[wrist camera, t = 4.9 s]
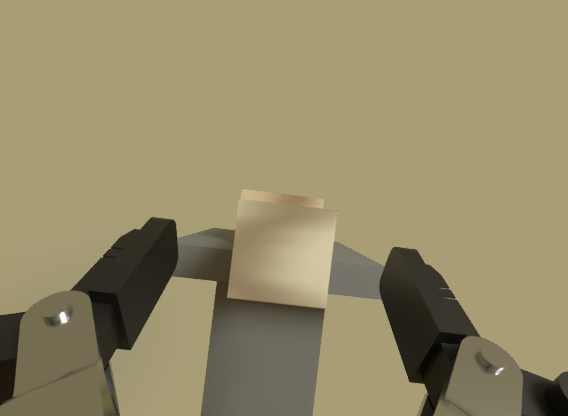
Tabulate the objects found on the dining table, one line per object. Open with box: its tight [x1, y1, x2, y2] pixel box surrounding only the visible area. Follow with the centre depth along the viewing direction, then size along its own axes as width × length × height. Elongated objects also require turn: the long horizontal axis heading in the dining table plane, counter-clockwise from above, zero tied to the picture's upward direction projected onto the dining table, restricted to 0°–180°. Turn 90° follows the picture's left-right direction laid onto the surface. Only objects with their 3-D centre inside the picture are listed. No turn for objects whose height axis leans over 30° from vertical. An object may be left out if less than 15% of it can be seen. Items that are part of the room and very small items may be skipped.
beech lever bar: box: [227, 189, 337, 309], centre depth 19 cm, size 6×21×4 cm, turn 1°
